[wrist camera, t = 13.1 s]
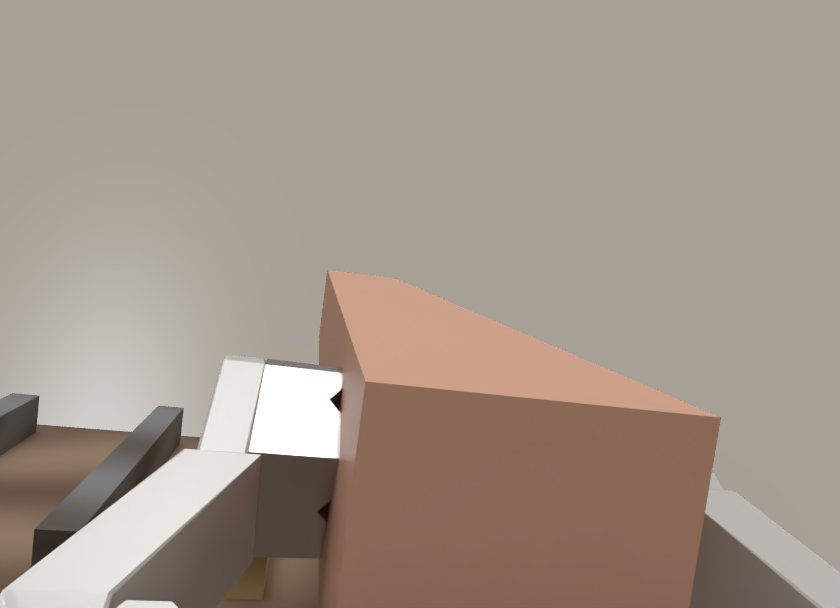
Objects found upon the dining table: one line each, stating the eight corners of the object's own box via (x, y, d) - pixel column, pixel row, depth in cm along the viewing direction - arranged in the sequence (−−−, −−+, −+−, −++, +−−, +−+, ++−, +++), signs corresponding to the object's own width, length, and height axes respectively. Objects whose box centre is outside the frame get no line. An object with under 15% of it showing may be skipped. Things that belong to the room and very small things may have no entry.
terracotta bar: (664, 755, 6) (720, 418, 5) (318, 749, 5) (365, 382, 5) (386, 344, 29) (395, 278, 29) (319, 337, 29) (327, 269, 29)
